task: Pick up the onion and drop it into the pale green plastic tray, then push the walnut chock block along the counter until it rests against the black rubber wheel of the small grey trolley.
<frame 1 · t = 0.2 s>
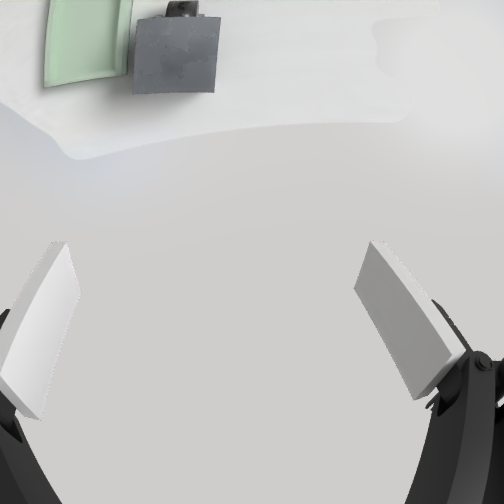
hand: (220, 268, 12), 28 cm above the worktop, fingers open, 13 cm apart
tray: (91, 23, 24), on the worktop
trolley: (182, 50, 28), on the worktop
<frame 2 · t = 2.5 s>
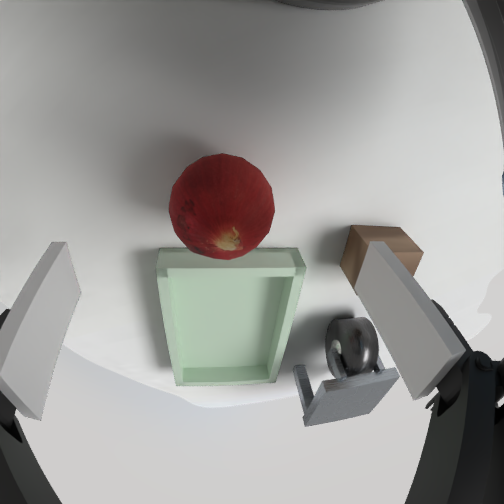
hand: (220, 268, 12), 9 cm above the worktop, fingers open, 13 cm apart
tray: (226, 319, 27), on the worktop
onion: (219, 181, 20), on the worktop
chock: (370, 245, 24), on the worktop
trolley: (333, 344, 32), on the worktop
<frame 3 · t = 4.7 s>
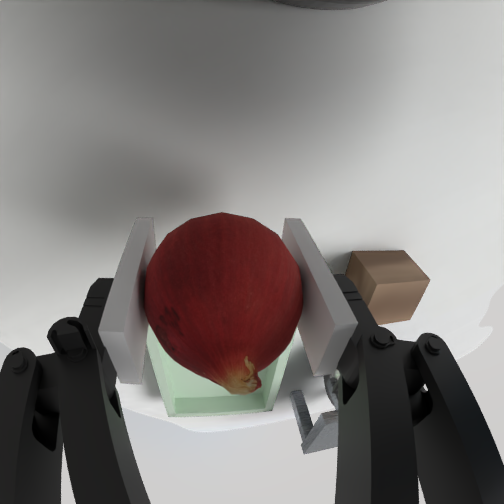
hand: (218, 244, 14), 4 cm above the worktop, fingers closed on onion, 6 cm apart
tray: (218, 351, 25), on the worktop
onion: (217, 238, 14), point 4 cm above the worktop, touching gripper
chock: (371, 271, 23), on the worktop
trolley: (331, 369, 29), on the worktop
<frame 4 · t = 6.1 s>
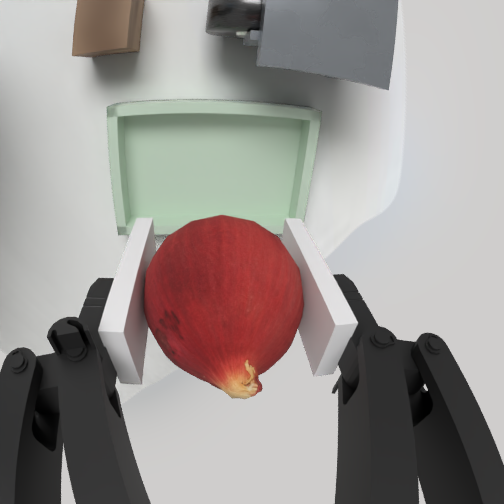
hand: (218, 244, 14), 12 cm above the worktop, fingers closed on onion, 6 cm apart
tray: (211, 162, 24), on the worktop
onion: (217, 240, 14), point 12 cm above the worktop, touching gripper
chock: (117, 25, 16), on the worktop
trolley: (286, 26, 18), on the worktop
when the fingers open (2 cm above the worktop, at t = 7.4 s): onion drops 1 cm, resting on tray.
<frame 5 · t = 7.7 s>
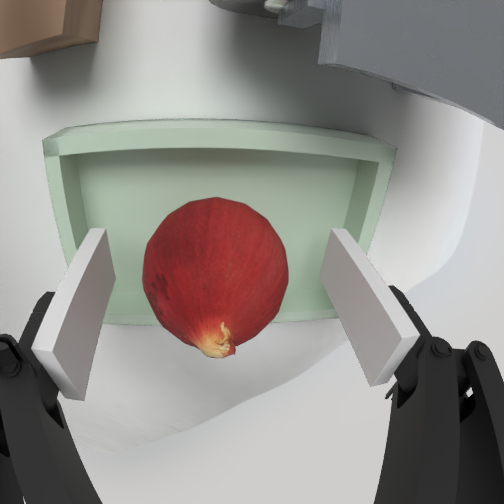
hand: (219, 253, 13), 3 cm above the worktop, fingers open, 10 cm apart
tray: (216, 219, 16), on the worktop
onion: (218, 225, 15), point 1 cm above the worktop, touching tray
chock: (67, 4, 8), on the worktop
trolley: (339, 5, 10), on the worktop
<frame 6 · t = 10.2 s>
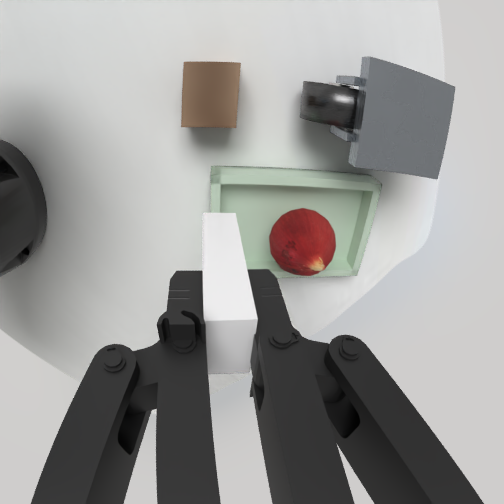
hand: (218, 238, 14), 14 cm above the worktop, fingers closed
tray: (290, 219, 30), on the worktop
onion: (292, 222, 29), resting on tray
chock: (211, 92, 22), on the worktop
trolley: (356, 106, 24), on the worktop
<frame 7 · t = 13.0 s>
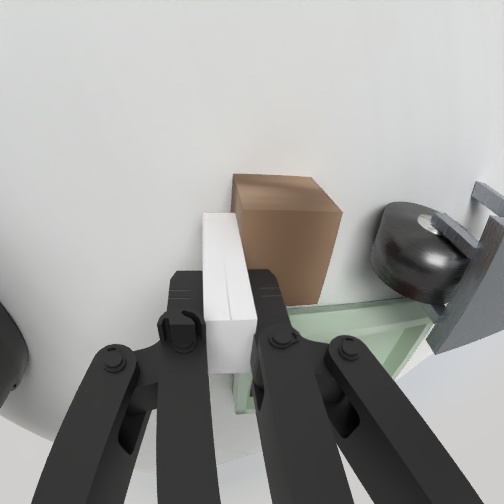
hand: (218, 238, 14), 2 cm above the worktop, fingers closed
tray: (327, 349, 24), on the worktop
chock: (267, 219, 16), on the worktop, touching gripper
trolley: (430, 224, 18), on the worktop
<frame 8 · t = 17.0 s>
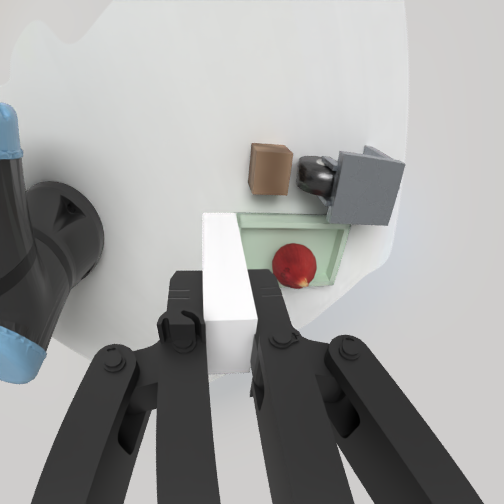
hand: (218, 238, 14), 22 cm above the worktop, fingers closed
tray: (286, 247, 42), on the worktop
onion: (287, 249, 42), resting on tray
chock: (266, 163, 35), on the worktop
trolley: (335, 169, 37), on the worktop
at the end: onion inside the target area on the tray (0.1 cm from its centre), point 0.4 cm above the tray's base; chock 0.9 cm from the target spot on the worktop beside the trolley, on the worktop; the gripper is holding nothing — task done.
